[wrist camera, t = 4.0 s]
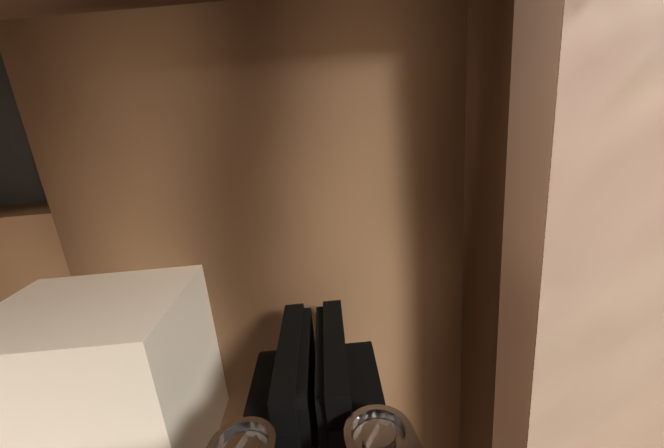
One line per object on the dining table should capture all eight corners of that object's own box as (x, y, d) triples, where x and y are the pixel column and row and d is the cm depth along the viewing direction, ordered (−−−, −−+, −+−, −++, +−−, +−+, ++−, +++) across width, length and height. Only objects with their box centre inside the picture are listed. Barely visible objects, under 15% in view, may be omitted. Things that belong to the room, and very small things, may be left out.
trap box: (470, -34, 12) (576, -135, 7) (460, 481, 18) (512, 619, 13) (-511, 52, 11) (-1109, 9, 7) (-180, 541, 18) (-368, 703, 13)
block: (38, 279, 11) (-104, 364, 8) (202, 264, 11) (142, 341, 8) (83, 412, 13) (-17, 539, 9) (228, 398, 13) (190, 520, 9)
